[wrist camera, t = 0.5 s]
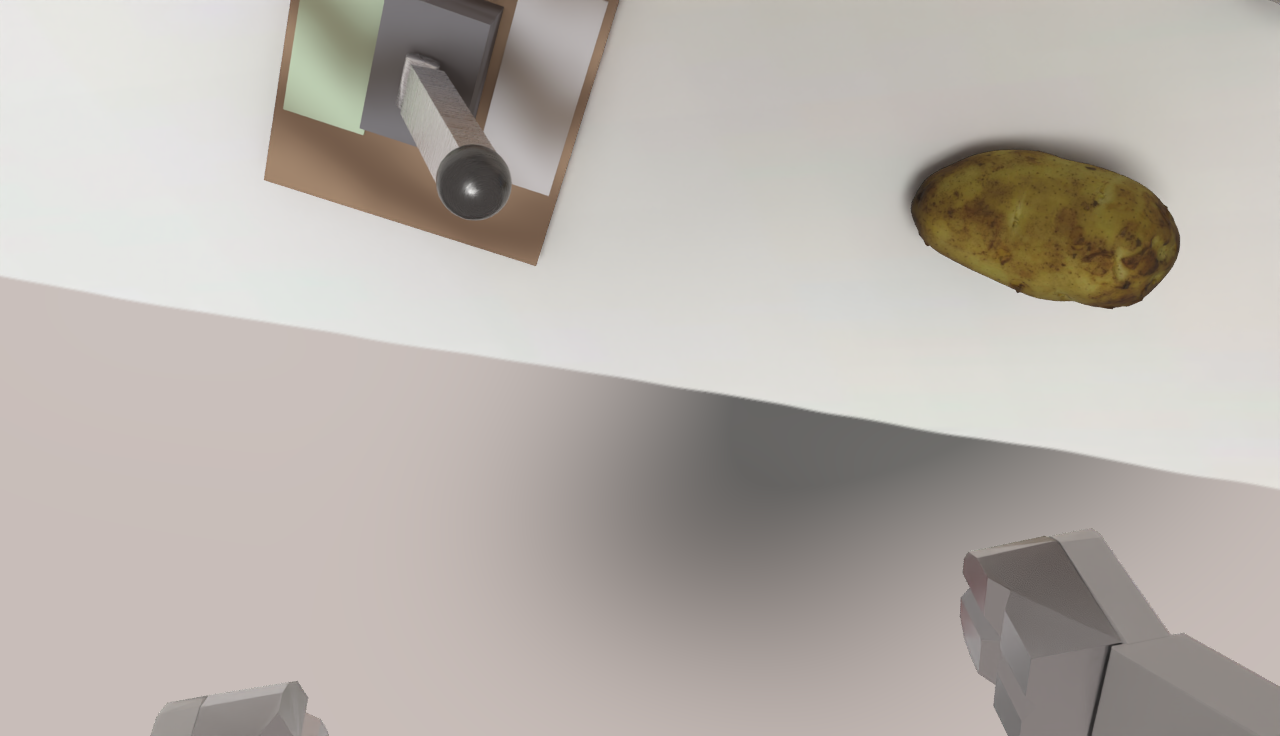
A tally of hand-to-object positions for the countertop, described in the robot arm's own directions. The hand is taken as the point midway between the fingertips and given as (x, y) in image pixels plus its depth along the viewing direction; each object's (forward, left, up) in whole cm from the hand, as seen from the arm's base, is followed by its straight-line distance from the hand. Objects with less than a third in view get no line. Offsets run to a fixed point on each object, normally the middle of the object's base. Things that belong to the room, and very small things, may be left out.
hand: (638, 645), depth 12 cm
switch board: (+4, -11, -46) cm, 47 cm away
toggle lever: (+4, -11, -38) cm, 40 cm away
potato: (+10, +22, -46) cm, 52 cm away
